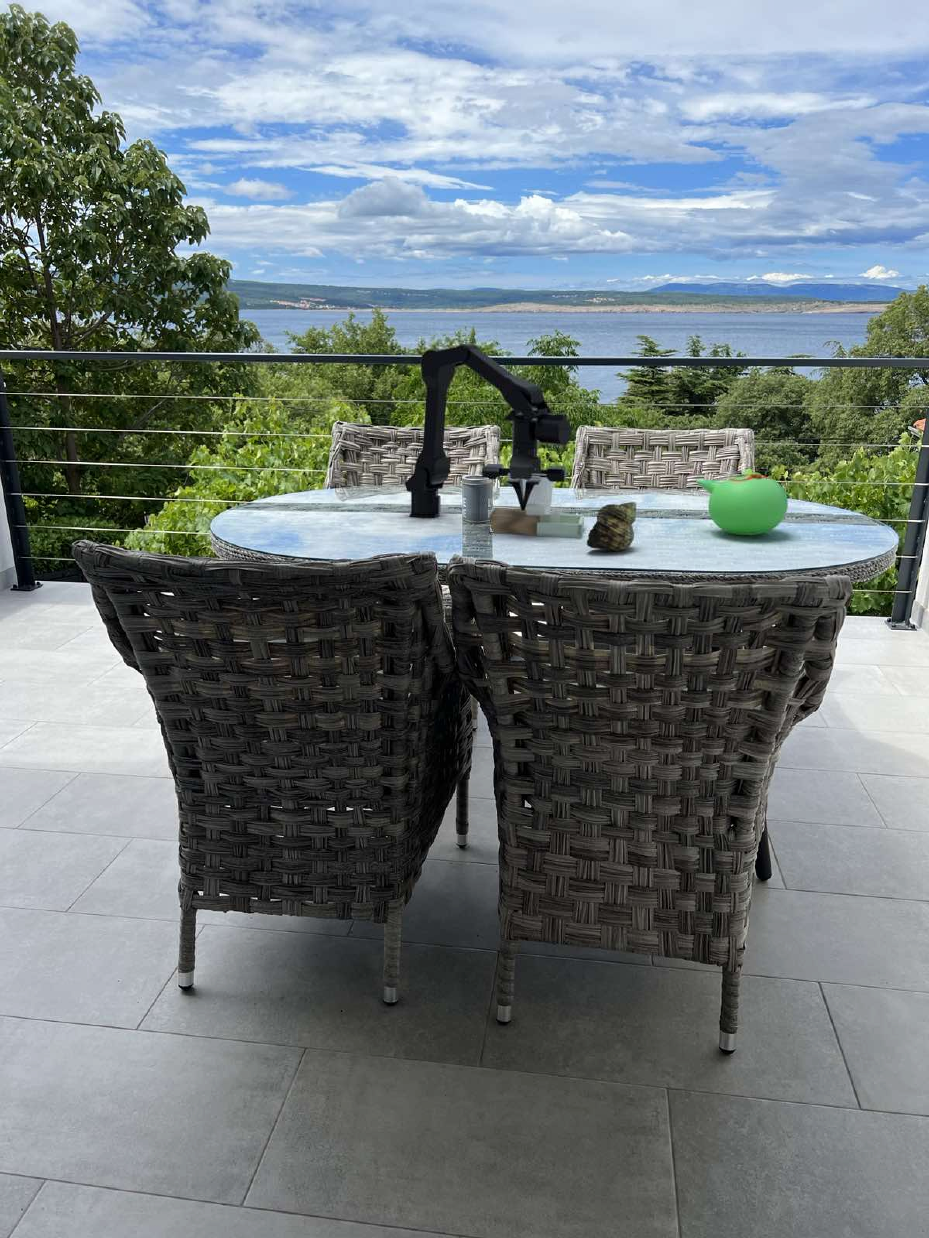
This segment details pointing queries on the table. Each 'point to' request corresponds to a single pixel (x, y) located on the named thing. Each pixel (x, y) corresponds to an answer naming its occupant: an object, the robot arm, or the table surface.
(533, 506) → the tile
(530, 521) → the tan cardboard slab
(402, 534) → the table surface
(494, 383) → the robot arm
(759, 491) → the green teapot
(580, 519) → the tray
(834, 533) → the table surface
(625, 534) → the seashell
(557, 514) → the tile
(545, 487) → the white cup
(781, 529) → the table surface
